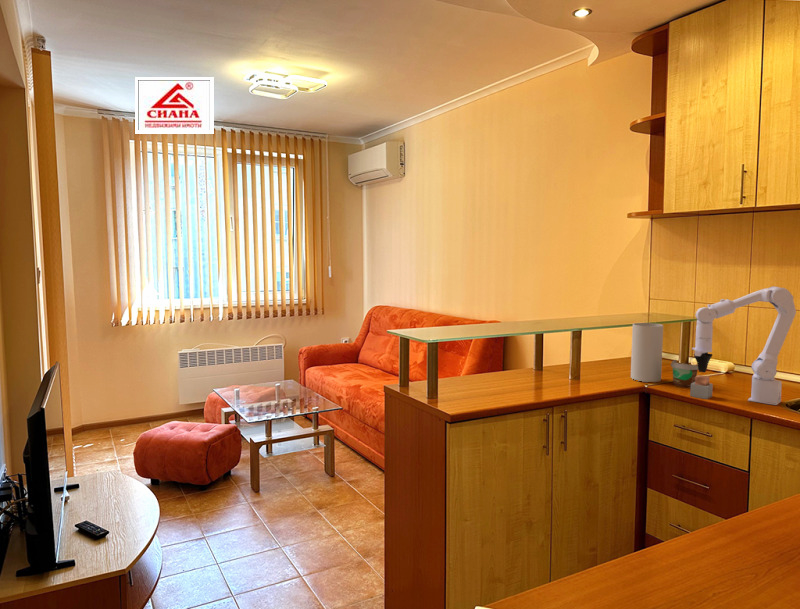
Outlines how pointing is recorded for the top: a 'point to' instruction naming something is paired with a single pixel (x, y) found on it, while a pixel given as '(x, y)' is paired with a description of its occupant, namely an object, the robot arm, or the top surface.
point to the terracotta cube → (702, 380)
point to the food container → (683, 374)
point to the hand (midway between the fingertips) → (702, 371)
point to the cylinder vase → (646, 352)
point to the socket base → (701, 391)
